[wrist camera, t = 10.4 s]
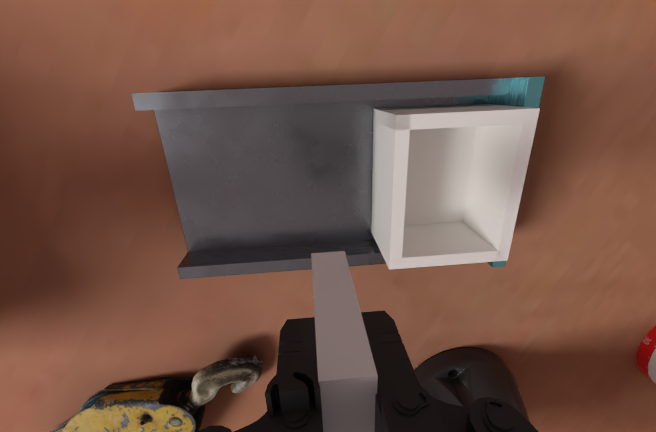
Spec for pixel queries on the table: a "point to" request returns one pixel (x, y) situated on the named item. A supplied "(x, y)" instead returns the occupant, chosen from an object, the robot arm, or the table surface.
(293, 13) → the table surface
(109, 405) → the pulley block
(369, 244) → the bay
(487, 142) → the crate
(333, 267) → the robot arm
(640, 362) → the kitchen timer
